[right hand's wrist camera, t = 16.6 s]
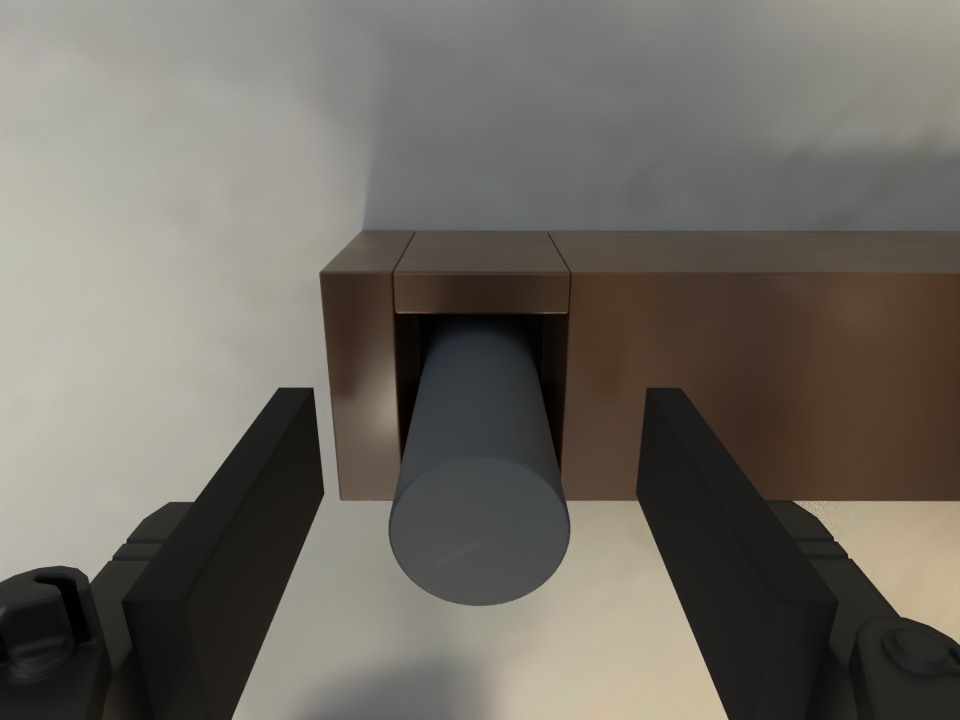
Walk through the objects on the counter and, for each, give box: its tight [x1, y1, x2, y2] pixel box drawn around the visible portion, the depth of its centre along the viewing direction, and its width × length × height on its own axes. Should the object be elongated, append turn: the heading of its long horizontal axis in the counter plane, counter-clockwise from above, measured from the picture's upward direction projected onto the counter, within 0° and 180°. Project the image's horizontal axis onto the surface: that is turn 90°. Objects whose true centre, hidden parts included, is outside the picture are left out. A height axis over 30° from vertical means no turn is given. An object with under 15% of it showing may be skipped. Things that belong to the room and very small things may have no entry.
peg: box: [389, 314, 570, 606], centre depth 17 cm, size 3×3×12 cm
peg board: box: [319, 231, 960, 501], centre depth 19 cm, size 28×7×6 cm, turn 90°
